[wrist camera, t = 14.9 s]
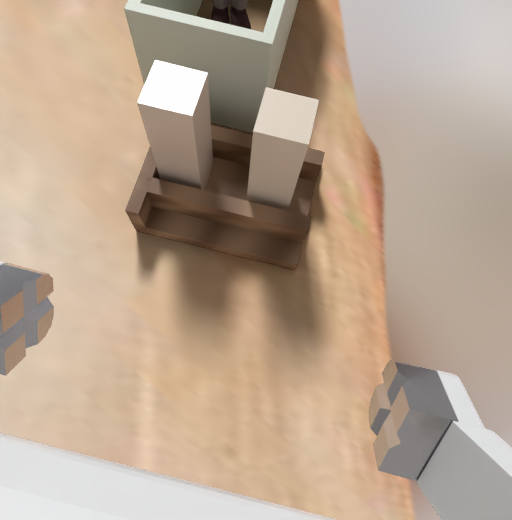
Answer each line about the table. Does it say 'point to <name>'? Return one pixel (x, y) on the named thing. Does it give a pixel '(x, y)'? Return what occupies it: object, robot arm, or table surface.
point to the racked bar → (178, 123)
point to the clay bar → (279, 146)
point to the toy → (236, 9)
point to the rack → (226, 206)
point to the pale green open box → (214, 52)
